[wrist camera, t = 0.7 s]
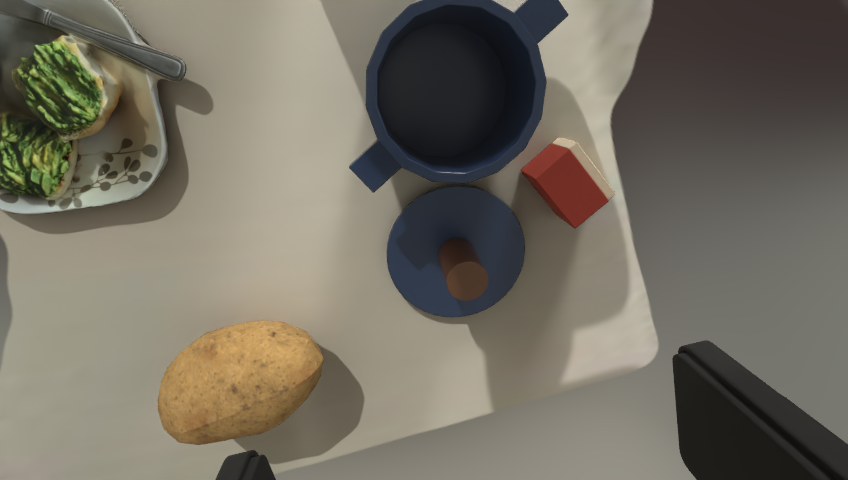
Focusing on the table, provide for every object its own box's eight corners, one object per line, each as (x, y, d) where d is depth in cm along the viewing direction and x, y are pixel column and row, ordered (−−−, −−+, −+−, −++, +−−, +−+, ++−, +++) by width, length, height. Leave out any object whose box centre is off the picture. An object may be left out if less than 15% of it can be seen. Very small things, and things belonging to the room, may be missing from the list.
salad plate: (167, -53, 33) (133, -75, 28) (223, 193, 38) (202, 206, 34) (-117, -30, 32) (-197, -50, 28) (-17, 217, 38) (-70, 234, 33)
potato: (349, 365, 44) (342, 421, 37) (218, 418, 45) (183, 484, 37) (303, 279, 41) (284, 322, 34) (162, 337, 42) (113, 392, 34)
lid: (358, 247, 41) (352, 278, 34) (463, 154, 39) (478, 167, 32) (447, 335, 44) (458, 379, 37) (548, 253, 42) (578, 284, 35)
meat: (520, 170, 40) (534, 179, 36) (558, 136, 39) (578, 141, 35) (557, 215, 41) (575, 229, 37) (595, 184, 40) (617, 194, 36)
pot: (316, 110, 37) (296, 115, 29) (477, -46, 34) (504, -88, 26) (412, 211, 40) (417, 242, 32) (565, 75, 37) (613, 71, 29)
